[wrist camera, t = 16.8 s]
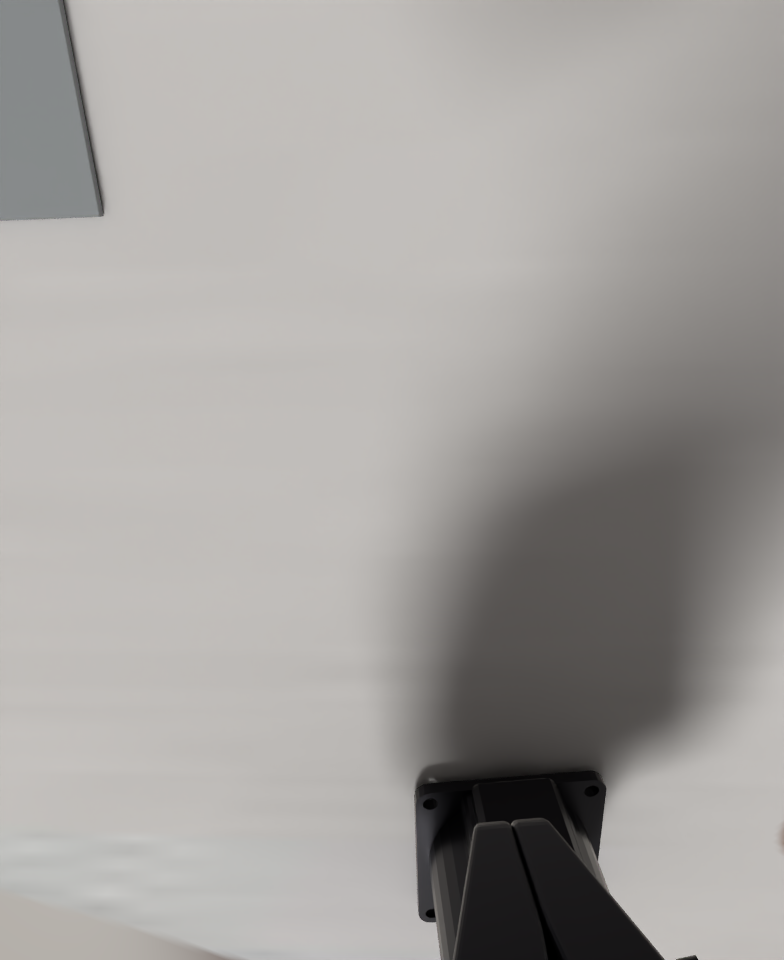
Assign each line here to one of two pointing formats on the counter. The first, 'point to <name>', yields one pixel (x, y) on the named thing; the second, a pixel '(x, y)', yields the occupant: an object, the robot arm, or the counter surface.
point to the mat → (42, 118)
